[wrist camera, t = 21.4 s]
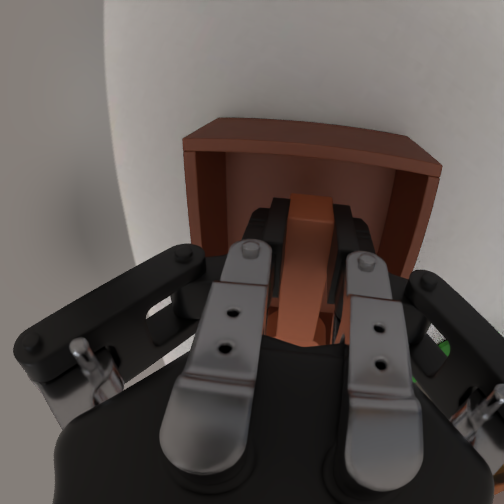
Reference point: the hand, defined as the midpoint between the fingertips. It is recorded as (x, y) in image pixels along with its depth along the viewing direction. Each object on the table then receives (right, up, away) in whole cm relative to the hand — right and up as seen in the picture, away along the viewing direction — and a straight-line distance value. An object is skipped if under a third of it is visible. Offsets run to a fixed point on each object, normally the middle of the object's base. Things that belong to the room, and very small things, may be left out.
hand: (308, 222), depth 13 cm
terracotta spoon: (0, -3, +3) cm, 4 cm away
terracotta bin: (+1, 0, +7) cm, 7 cm away
